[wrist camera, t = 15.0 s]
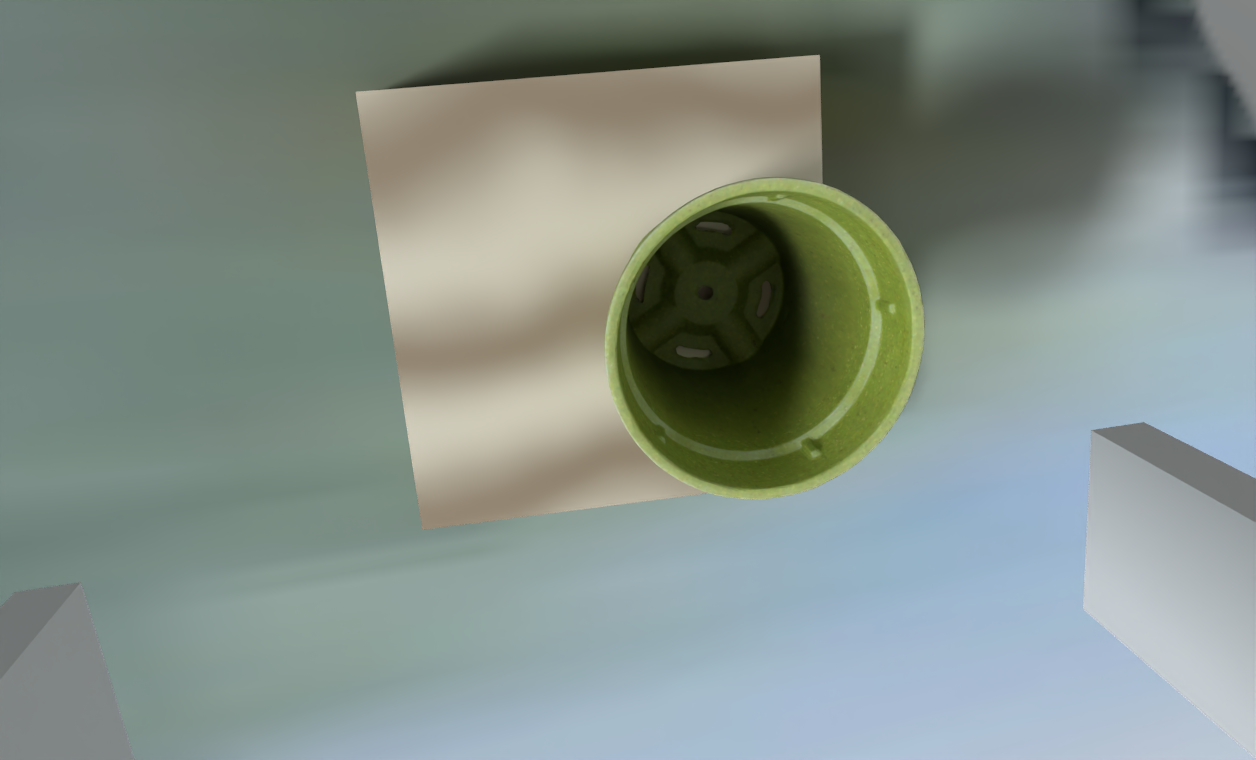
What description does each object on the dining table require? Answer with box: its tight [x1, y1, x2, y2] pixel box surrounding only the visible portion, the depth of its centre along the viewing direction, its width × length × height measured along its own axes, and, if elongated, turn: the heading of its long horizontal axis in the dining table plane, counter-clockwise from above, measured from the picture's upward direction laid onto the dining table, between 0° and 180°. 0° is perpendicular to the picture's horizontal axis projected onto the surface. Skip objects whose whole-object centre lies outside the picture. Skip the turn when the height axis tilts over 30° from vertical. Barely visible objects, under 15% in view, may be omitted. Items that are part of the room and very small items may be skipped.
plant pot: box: [604, 177, 925, 499], centre depth 32 cm, size 9×9×9 cm
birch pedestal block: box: [356, 55, 823, 530], centre depth 38 cm, size 16×16×5 cm
